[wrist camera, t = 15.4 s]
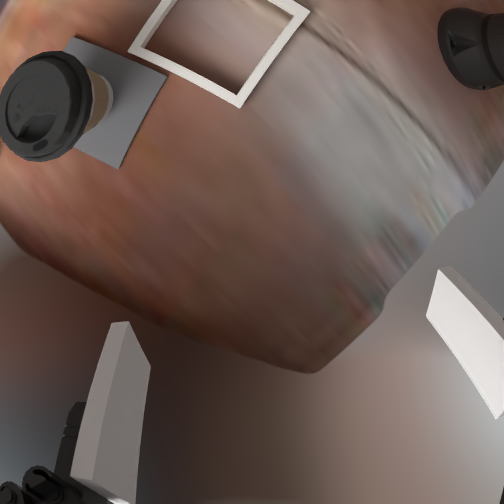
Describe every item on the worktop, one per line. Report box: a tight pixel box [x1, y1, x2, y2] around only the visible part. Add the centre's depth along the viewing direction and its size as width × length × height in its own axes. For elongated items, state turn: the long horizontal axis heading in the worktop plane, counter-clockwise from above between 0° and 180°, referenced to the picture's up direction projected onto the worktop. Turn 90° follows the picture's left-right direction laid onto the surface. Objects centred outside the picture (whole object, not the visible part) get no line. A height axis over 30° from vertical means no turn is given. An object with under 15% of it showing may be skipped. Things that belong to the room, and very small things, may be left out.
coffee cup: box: [0, 51, 114, 162], centre depth 26 cm, size 11×11×15 cm
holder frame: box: [128, 0, 310, 108], centre depth 30 cm, size 16×16×2 cm
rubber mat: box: [64, 37, 167, 169], centre depth 32 cm, size 16×14×1 cm
